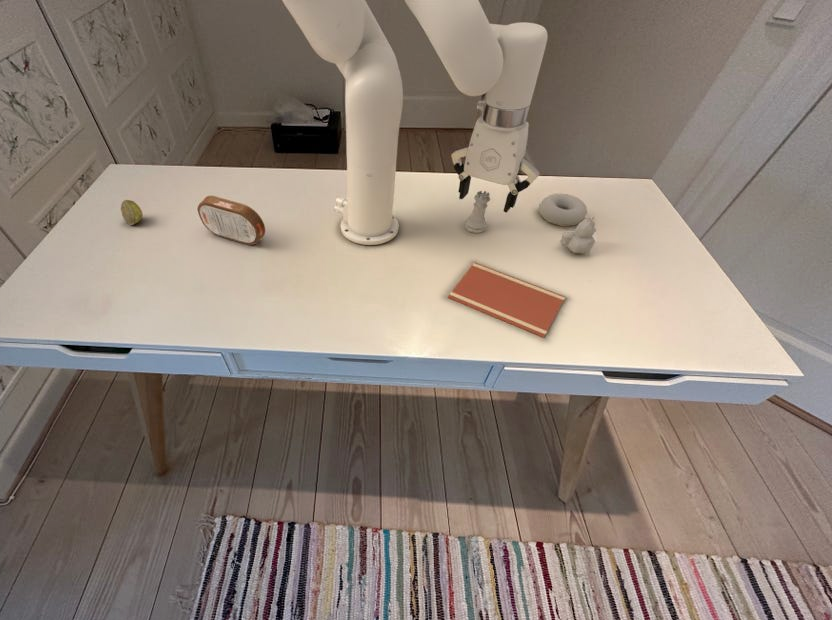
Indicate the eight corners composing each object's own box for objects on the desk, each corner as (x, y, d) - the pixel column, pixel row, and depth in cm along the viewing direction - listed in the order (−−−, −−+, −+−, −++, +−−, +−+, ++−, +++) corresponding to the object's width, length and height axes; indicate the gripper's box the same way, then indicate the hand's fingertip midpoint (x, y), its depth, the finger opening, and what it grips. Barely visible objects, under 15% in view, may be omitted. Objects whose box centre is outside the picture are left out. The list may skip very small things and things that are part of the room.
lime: (142, 227, 93) (132, 207, 89) (120, 227, 93) (110, 206, 89) (149, 216, 95) (140, 195, 92) (128, 216, 96) (118, 195, 92)
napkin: (447, 297, 78) (448, 295, 78) (474, 263, 84) (474, 261, 84) (543, 338, 71) (544, 336, 71) (564, 298, 78) (565, 296, 77)
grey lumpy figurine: (592, 259, 85) (610, 224, 79) (558, 256, 85) (574, 222, 79) (586, 243, 88) (604, 208, 82) (554, 241, 89) (569, 206, 83)
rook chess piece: (462, 222, 93) (469, 188, 87) (481, 221, 93) (490, 187, 87) (467, 234, 90) (475, 200, 84) (487, 233, 91) (497, 199, 84)
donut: (588, 230, 91) (577, 204, 97) (595, 216, 89) (583, 191, 95) (540, 228, 92) (533, 202, 98) (546, 214, 89) (538, 189, 95)
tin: (269, 242, 89) (262, 206, 82) (260, 251, 87) (253, 214, 81) (210, 226, 93) (199, 190, 86) (202, 233, 91) (190, 197, 85)
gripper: (450, 111, 75) (439, 199, 89) (547, 131, 69) (519, 223, 82) (468, 97, 79) (454, 184, 92) (561, 115, 73) (532, 205, 86)
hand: (485, 202), depth 87 cm, fingers open, 9 cm apart
